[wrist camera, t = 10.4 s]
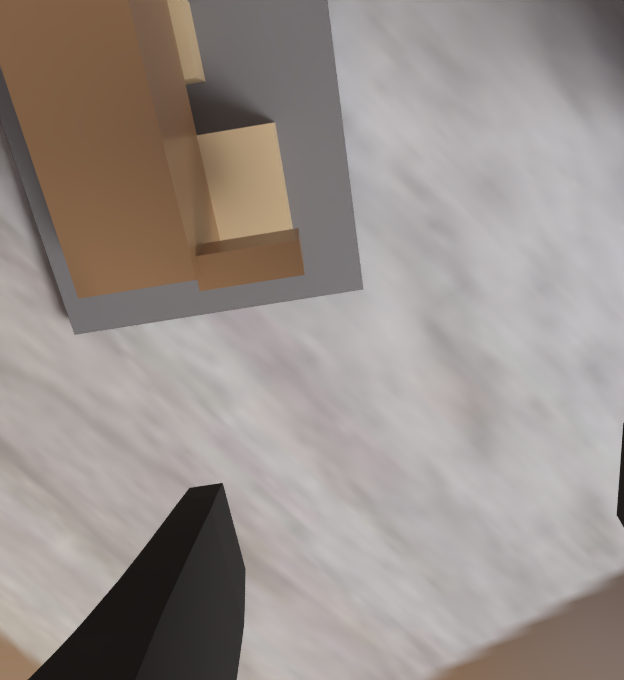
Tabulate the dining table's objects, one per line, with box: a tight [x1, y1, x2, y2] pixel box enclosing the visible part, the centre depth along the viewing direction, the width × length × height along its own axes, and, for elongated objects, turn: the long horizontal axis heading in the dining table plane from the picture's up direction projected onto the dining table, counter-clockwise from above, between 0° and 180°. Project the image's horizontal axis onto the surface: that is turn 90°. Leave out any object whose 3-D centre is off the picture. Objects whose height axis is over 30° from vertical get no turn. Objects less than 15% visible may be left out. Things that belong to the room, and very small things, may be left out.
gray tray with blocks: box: [0, 0, 363, 335], centre depth 15 cm, size 10×16×3 cm, turn 9°
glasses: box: [0, 0, 305, 299], centre depth 11 cm, size 5×12×4 cm, turn 9°
